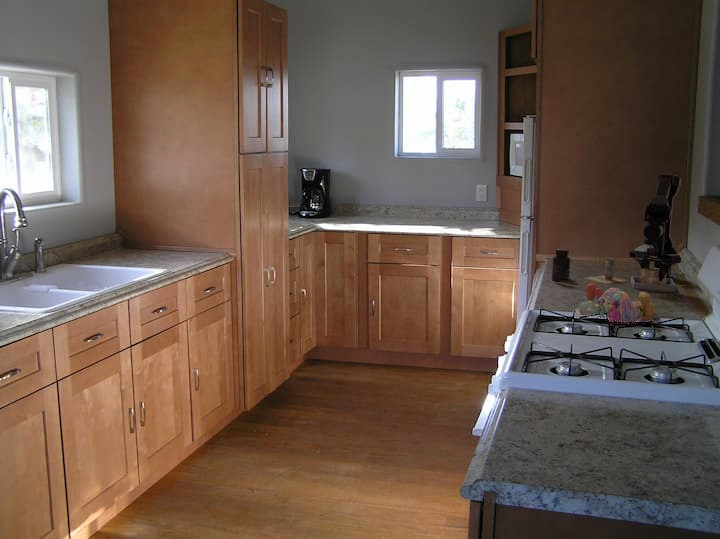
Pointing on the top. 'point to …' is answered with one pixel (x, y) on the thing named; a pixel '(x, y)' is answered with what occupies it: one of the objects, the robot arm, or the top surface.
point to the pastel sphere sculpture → (617, 305)
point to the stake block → (606, 274)
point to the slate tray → (654, 285)
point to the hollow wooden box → (651, 276)
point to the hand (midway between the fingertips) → (652, 279)
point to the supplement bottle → (561, 265)
